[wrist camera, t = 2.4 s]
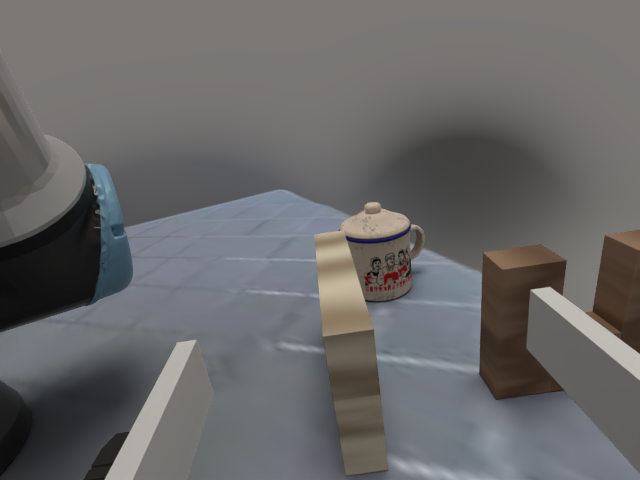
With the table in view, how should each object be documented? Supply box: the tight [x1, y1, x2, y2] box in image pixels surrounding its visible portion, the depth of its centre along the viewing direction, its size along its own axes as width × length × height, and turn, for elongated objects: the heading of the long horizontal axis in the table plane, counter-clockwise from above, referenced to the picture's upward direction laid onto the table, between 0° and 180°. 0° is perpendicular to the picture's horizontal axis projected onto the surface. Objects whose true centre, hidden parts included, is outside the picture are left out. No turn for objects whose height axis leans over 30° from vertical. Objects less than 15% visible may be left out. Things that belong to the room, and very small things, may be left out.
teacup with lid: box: [339, 202, 425, 301], centre depth 48 cm, size 12×9×12 cm
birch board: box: [315, 230, 388, 476], centre depth 31 cm, size 17×3×12 cm, turn 2°
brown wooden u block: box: [479, 230, 640, 399], centre depth 29 cm, size 14×3×12 cm, turn 92°
